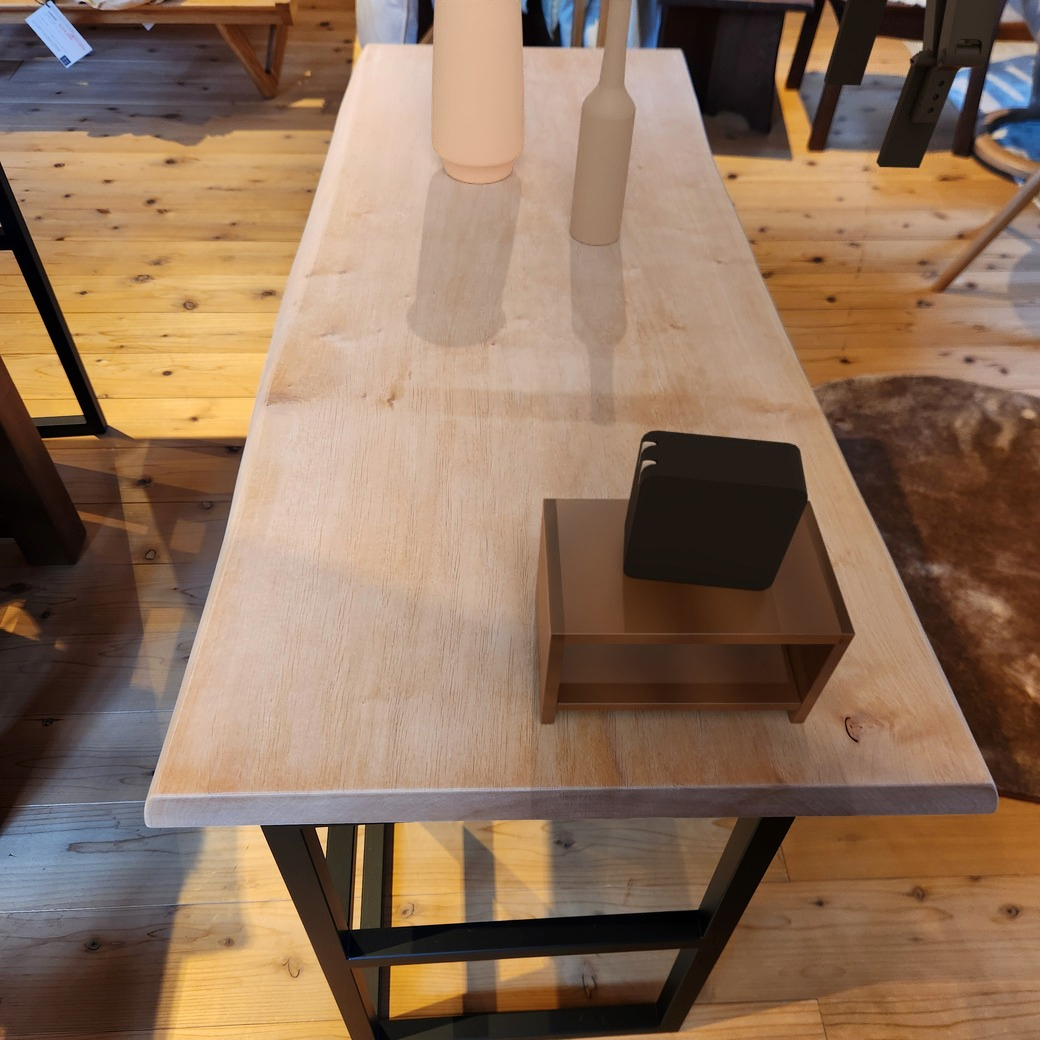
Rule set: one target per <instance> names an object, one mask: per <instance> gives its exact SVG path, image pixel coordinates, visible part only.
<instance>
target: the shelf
mask: <svg viewBox="0 0 1040 1040" xmlns="http://www.w3.org/2000/svg"><path fill="white" fill-rule="evenodd" d="M629 499H630V498H556V497H555V498H551V497H550V498H549V497H548V498H546V497H545V498H543V499H542V509H541V520H540V521H541V523H540V534H539V535H540V536H539V547H538V558H537V571H536V583H535V617H536V619H535V620H536V622H535V623H536V643H537V663H538V665H537V666H538V690H539V711H540V712H539V714H540V715H539V716H540V724H541V725H555V720H556V714H557V713H556V712H558V711H559V712H561V711H562V712H567V711H569V712H570V711H571V712H573V711H576V712H578V711H582V712H583V711H585V712H586V711H587V712H588V711H589V712H590V711H595V712H597V711H599V712H600V711H603V712H604V711H612V712H613V711H617V712H618V711H622V712H623V711H787V713H788V716H789V721H790V723H791V724H804V723H805V722H806V720H807V718H808V716H809V715H810V714H811V711H812V710H813V708H814V706H815V704H816V703H817V701H818V700H819V698H820V696H821V694H822V692H823V691H824V690H825V687H826V686H827V685H828V682H829V680H830V679H831V678H832V676H833V674H834V672H835V670H836V669H837V667H838V665H839V664H840V662H841V660H842V658H843V657H844V655H845V653H846V651H847V650H848V649H849V646H850V645H851V644H852V641H853V640H854V638H855V637H856V631H855V628H854V626H853V623H852V619H851V617H850V614H849V611H848V608H847V604H846V602H845V600H844V596H843V593H842V590H841V587H840V584H839V581H838V578H837V575H836V573H835V570H834V566H833V563H832V560H831V557H830V555H829V552H828V549H827V547H826V543H825V540H824V537H823V535H822V532H821V528H820V526H819V523H818V519H817V517H816V514H815V512H814V511H815V510H814V508H813V505H812V503H811V501H810V500H808V502H807V504H806V507H805V509H804V511H803V514H802V516H801V518H800V521H799V523H798V526H797V528H796V530H795V533H794V535H793V537H792V540H791V542H790V544H789V547H788V549H787V551H786V554H785V556H784V559H783V561H782V563H781V566H780V568H779V570H778V573H777V575H776V577H775V580H774V582H773V584H772V585H771V586H770V588H768V589H766V590H763V591H750V590H740V589H730V588H721V587H711V586H701V585H692V584H682V583H672V582H662V581H653V580H643V579H635V578H631V577H628V576H627V575H626V574H625V573H624V569H623V563H624V526H625V520H626V515H627V509H628V504H629Z"/></svg>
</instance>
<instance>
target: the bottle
mask: <svg viewBox="0 0 1040 1040" xmlns="http://www.w3.org/2000/svg"><path fill="white" fill-rule="evenodd" d="M632 3H633V0H609V5H608V12H607V23H606V32H605V39H604V40H605V41H604V48H603V49H604V50H603V55H602V60H601V61H602V62H601V68H600V74H599V80H598V83H597V85H596V86H595V87H594V88H593V90H592V91H591V92H590V93H589V94H587V96H585V98H584V100H583V101H582V103H581V104H582V105H581V111H580V121H579V131H578V143H577V152H576V162H575V171H574V180H573V181H574V182H573V191H572V193H573V194H572V200H571V201H572V204H571V213H570V224H569V225H570V226H569V233H570V235H571V237H572V238H573V239H575V240H576V241H577V242H580V243H582V244H585V245H590V246H604V245H605V246H606V245H610V244H613V243H615V242H616V241H617V240H618V239H619V238H620V236H621V230H622V221H623V215H624V214H623V213H624V206H625V197H626V190H627V183H628V175H629V166H630V159H631V158H630V157H631V150H632V143H633V142H632V141H633V134H634V127H635V118H636V111H637V107H636V105H635V102H634V100H633V98H632V96H631V95H630V94H629V92H628V90H627V87H626V85H625V80H626V79H625V77H626V62H627V48H628V39H629V29H630V22H631V14H632V13H631V11H632V5H633V4H632Z"/></svg>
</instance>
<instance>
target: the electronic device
mask: <svg viewBox="0 0 1040 1040" xmlns="http://www.w3.org/2000/svg"><path fill="white" fill-rule="evenodd" d="M637 453H638V454H637V458H636V464H635V469H634V474H633V479H632V484H631V490H630V494H629V498H628V499H629V504H628V509H627V515H626V520H625V526H624V563H623V569H624V573H625V574H626V575H627V576H628V577H631V578H635V579H643V580H653V581H662V582H672V583H682V584H692V585H701V586H711V587H721V588H730V589H740V590H750V591H763V590H766V589H768V588H770V586H771V585H772V584H773V582H774V580H775V577H776V575H777V573H778V570H779V568H780V566H781V563H782V561H783V559H784V556H785V554H786V551H787V549H788V547H789V544H790V542H791V540H792V537H793V535H794V533H795V530H796V528H797V526H798V523H799V521H800V518H801V516H802V514H803V511H804V509H805V507H806V504H807V502H808V501H809V494H808V493H809V492H808V488H807V483H806V476H805V471H804V465H803V459H802V453H801V449H800V448H799V447H798V446H797V444H795V443H791V442H786V441H785V442H782V441H774V440H773V441H771V440H762V439H752V438H743V437H742V438H741V437H731V436H722V435H721V436H720V435H710V434H701V433H700V434H698V433H691V432H690V433H688V432H680V431H678V432H677V431H670V430H669V431H668V430H659V429H657V430H650V431H648V432H646V433H644V434H643V436H642V437H641V439H640V444H639V449H638V452H637Z"/></svg>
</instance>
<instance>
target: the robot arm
mask: <svg viewBox="0 0 1040 1040" xmlns="http://www.w3.org/2000/svg"><path fill="white" fill-rule="evenodd" d="M888 1H889V0H846V2H845V6H844V9H843V13H842V17H841V20H840V22H839V26H838V29H837V33H836V37H835V40H834V43H833V47H832V51H831V53H830V57H829V62H828V65H827V67H826V71H825V75H824V77H823V82H824V83H825V85H830V86H862V82H863V80H864V76H865V73H866V69H867V67H868V63H869V60H870V57H871V54H872V51H873V47H874V45H875V42H876V39H877V36H878V33H879V29H880V27H881V26H880V25H881V23H882V19H883V17H884V14H885V10H886V7H887V4H888ZM999 3H1000V0H925V10H924V11H925V12H924V25H923V38H922V50H919V51H918V52H917V53H915V54H914V55H913V56H911V57H910V58H909V68H908V72H907V75H906V77H905V80H904V83H903V84H902V88H901V91H900V94H899V97H898V99H897V103H896V105H895V108H894V111H893V114H892V116H891V119H890V122H889V125H888V128H887V131H886V133H885V136H884V139H883V142H882V145H881V147H880V150H879V153H878V156H877V158H876V161H875V162H876V164H877V165H878V167H879V168H893V169H894V168H902V169H920V167H921V164H922V162H923V160H924V158H925V154H926V152H927V150H928V147H929V144H930V142H931V140H932V137H933V135H934V132H935V129H936V127H937V124H938V122H939V119H940V116H941V115H942V111H943V109H944V107H945V104H946V102H947V99H948V97H949V94H950V91H951V90H952V89H951V88H952V86H953V84H954V82H955V79H956V76H957V74H958V72H959V71H960V70H961V69H963V68H965V69H966V68H968V69H971V68H972V69H978V68H980V69H981V68H982V67H983V66H985V64H986V62H987V60H988V57H989V53H990V52H989V51H990V48H991V41H992V37H993V32H994V27H995V22H996V17H997V12H998V7H999Z"/></svg>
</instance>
